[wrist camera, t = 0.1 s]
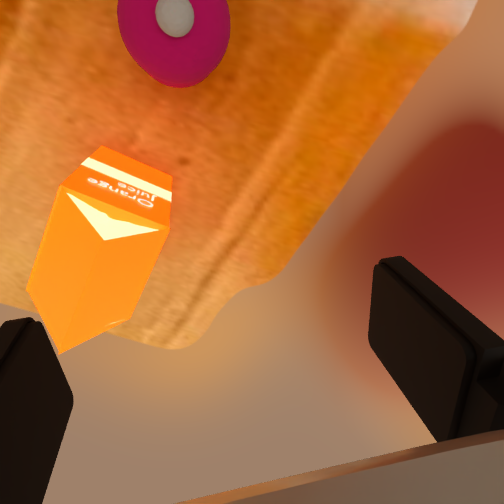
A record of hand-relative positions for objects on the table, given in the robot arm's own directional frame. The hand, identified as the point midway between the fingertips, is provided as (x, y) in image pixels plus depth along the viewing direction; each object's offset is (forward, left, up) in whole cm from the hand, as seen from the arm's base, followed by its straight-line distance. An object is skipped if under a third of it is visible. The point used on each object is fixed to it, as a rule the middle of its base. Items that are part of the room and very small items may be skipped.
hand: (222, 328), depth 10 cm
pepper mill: (-9, 0, -31) cm, 33 cm away
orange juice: (+5, -8, -31) cm, 33 cm away
